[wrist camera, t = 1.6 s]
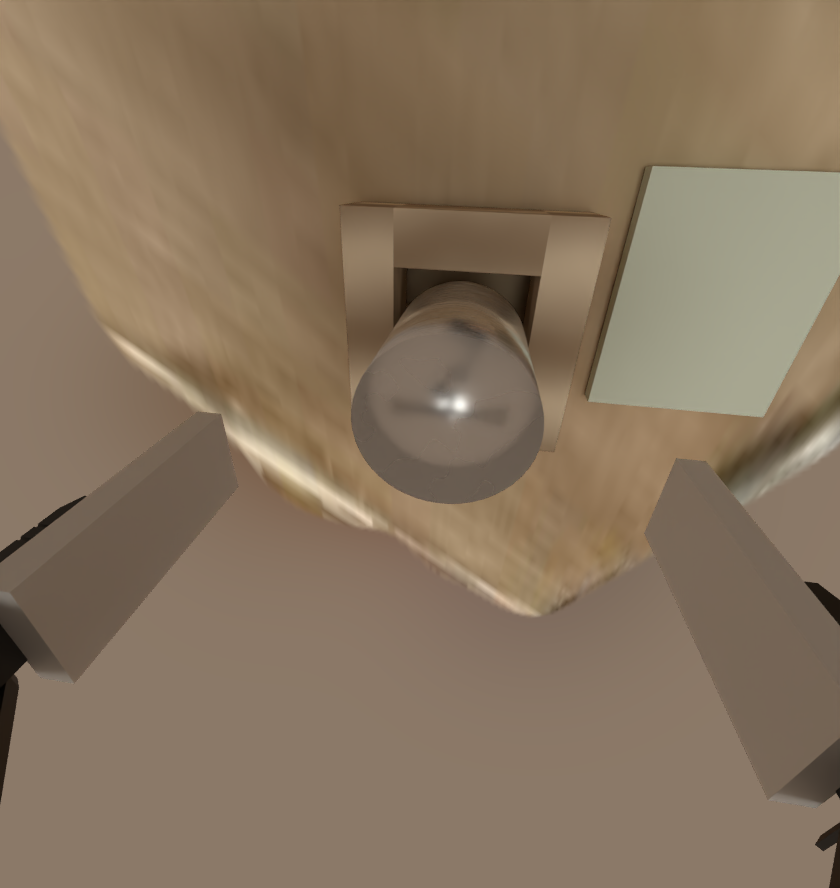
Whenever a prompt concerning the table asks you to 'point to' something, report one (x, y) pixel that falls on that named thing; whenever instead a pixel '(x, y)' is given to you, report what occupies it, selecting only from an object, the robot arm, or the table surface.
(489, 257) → the bore block
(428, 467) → the metal cylinder
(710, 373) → the mat
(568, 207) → the table surface
